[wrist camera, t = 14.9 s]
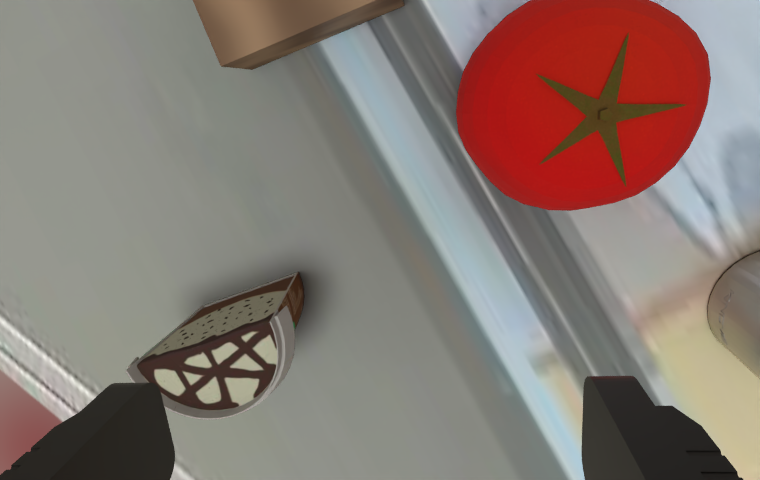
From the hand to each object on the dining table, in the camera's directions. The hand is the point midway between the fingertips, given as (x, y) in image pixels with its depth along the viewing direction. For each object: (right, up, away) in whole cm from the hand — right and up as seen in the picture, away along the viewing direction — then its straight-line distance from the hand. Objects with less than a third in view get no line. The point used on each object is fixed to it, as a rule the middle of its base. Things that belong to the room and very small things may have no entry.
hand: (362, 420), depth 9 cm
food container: (-10, -3, +34) cm, 35 cm away
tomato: (+13, +13, +26) cm, 32 cm away
